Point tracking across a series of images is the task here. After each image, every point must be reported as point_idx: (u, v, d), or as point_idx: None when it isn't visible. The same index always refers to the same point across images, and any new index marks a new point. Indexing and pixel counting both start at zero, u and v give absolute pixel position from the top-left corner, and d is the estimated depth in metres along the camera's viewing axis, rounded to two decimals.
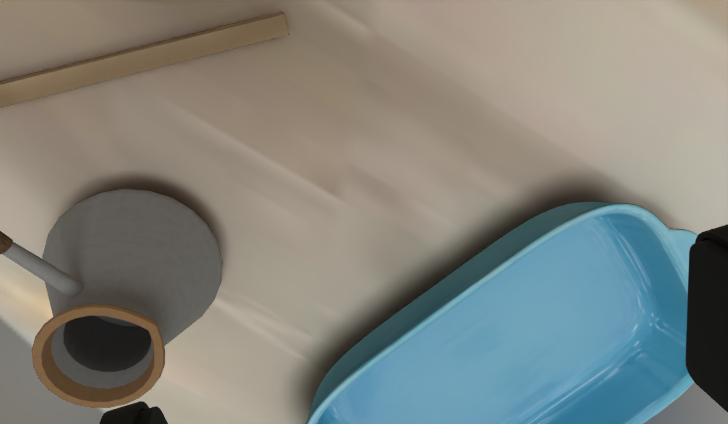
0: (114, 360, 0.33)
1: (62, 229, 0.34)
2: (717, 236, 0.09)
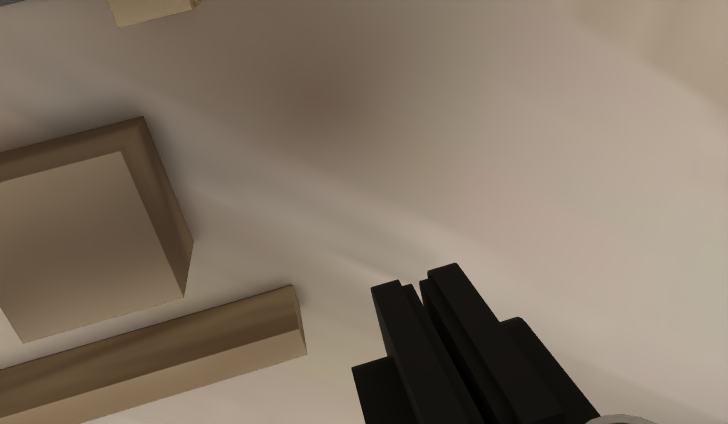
0: None
1: None
2: (433, 275, 0.10)
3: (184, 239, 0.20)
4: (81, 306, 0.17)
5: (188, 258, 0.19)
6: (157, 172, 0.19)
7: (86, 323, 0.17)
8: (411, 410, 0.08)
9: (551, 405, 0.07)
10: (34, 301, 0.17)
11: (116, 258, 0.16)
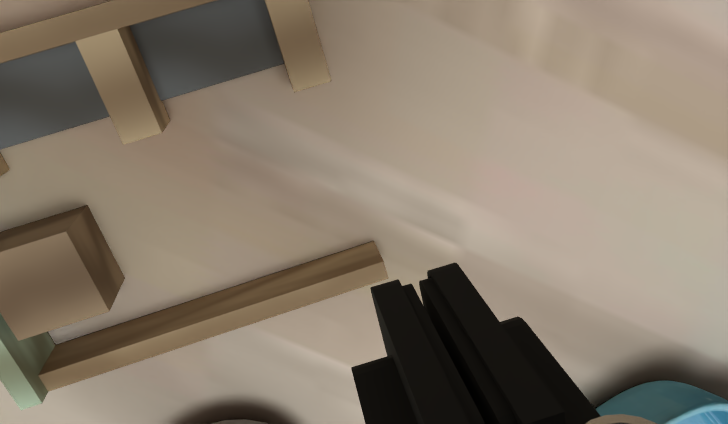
0: None
1: None
2: (433, 275, 0.10)
3: (115, 277, 0.32)
4: (50, 318, 0.30)
5: (117, 288, 0.32)
6: (95, 238, 0.31)
7: (53, 328, 0.30)
8: (411, 410, 0.08)
9: (550, 405, 0.07)
10: (23, 316, 0.29)
11: (68, 290, 0.29)
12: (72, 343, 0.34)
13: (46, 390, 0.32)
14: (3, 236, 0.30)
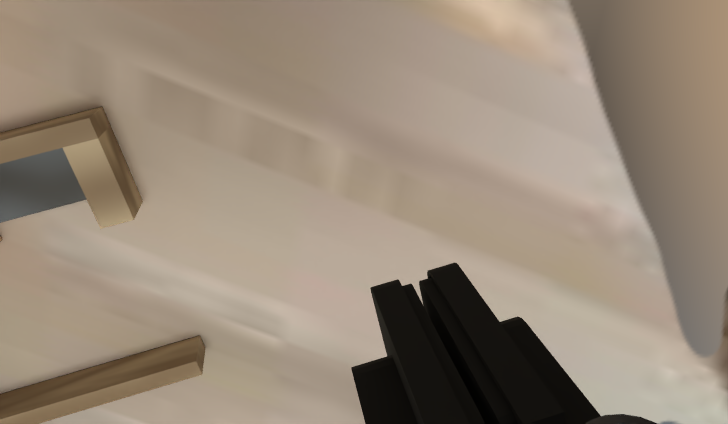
0: None
1: None
2: (433, 275, 0.10)
3: None
4: None
5: None
6: None
7: None
8: (411, 410, 0.08)
9: (550, 405, 0.07)
10: None
11: None
12: None
13: None
14: None
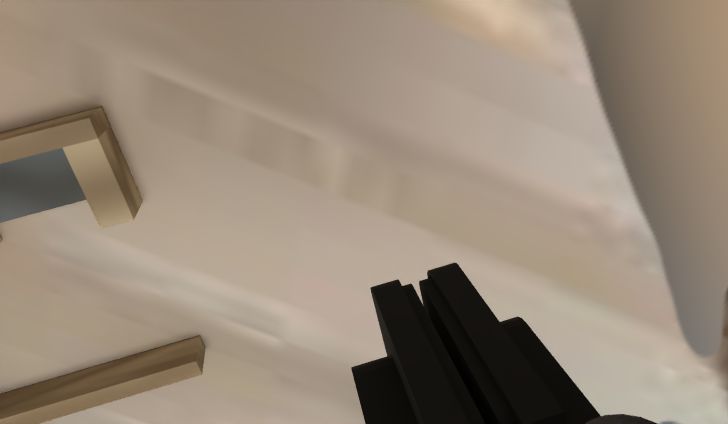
0: None
1: None
2: (433, 275, 0.10)
3: None
4: None
5: None
6: None
7: None
8: (411, 410, 0.08)
9: (551, 405, 0.07)
10: None
11: None
12: None
13: None
14: None
